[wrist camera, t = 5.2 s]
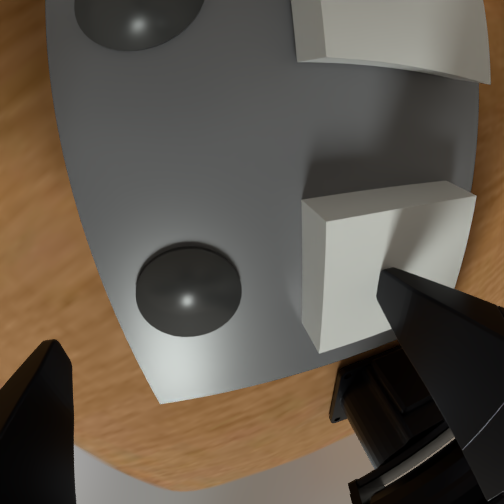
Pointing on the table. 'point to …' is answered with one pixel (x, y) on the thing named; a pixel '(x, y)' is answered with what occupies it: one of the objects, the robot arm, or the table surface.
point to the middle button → (396, 35)
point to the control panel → (228, 172)
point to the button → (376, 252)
